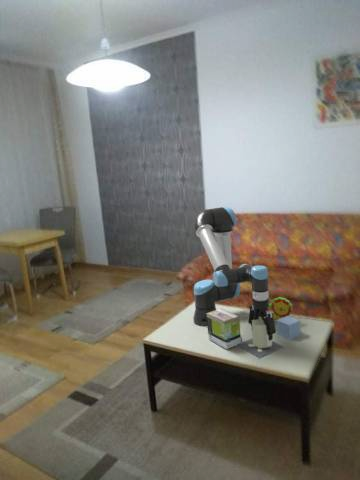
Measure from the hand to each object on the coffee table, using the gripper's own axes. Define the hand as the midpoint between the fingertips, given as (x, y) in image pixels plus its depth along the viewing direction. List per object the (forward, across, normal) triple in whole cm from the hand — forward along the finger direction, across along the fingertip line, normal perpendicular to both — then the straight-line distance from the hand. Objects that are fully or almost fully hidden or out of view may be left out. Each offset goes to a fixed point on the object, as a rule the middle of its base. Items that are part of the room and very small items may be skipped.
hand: (262, 341), depth 176 cm
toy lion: (+3, -13, +24) cm, 27 cm away
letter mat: (+2, -1, -1) cm, 3 cm away
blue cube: (+2, 0, +18) cm, 18 cm away
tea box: (+3, -16, -11) cm, 19 cm away
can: (+1, 0, 0) cm, 1 cm away
